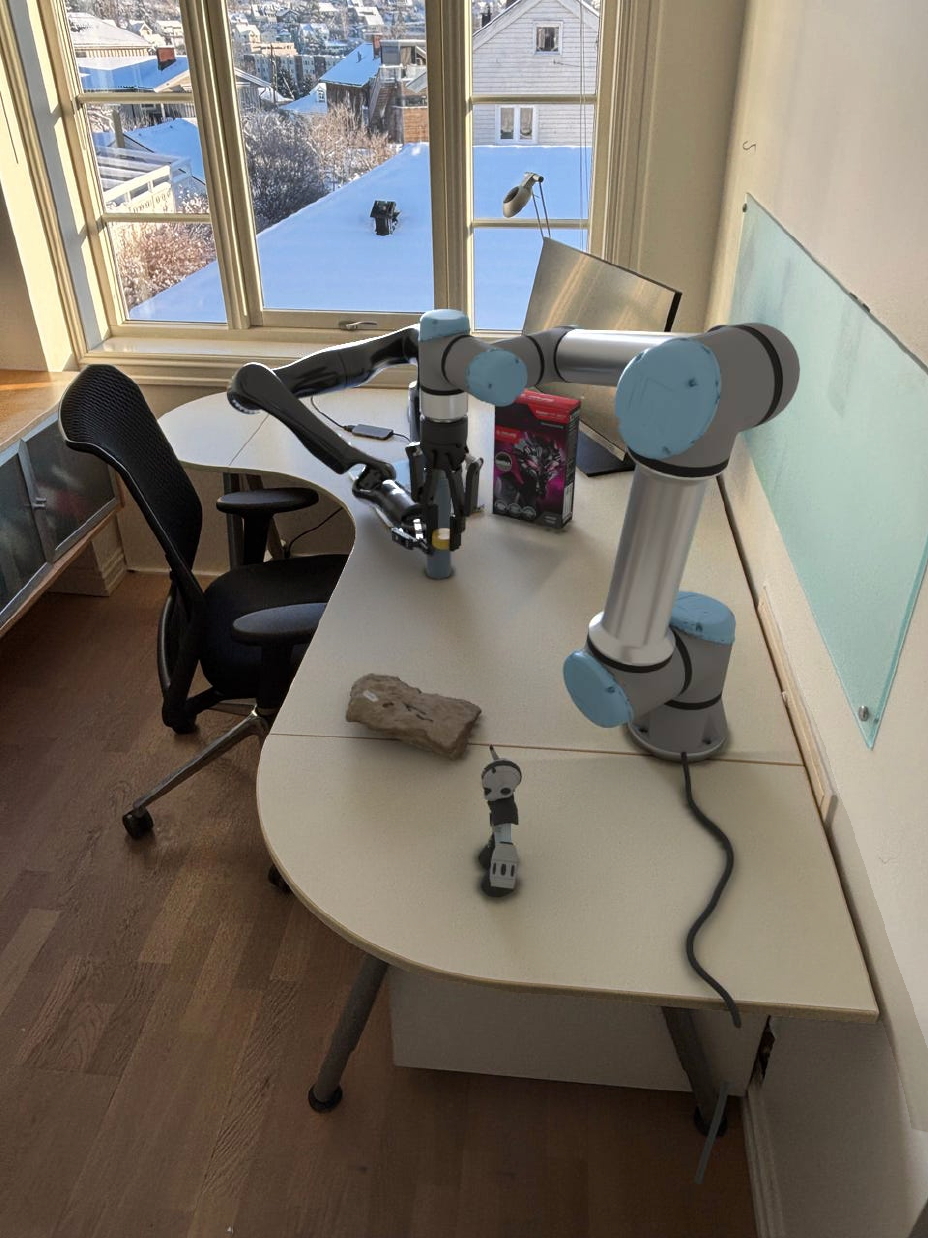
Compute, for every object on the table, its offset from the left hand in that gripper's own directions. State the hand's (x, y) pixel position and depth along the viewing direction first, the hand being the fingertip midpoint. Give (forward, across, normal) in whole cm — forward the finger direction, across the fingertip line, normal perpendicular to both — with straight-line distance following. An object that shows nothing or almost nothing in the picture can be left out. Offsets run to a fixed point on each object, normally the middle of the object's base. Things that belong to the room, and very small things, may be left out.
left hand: (445, 548), depth 177 cm
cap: (+15, -8, -12) cm, 21 cm away
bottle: (-3, 0, +7) cm, 7 cm away
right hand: (+15, -8, -10) cm, 20 cm away
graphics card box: (-13, +28, +7) cm, 32 cm away
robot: (+68, -28, +7) cm, 74 cm away
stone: (+37, -26, +7) cm, 46 cm away
